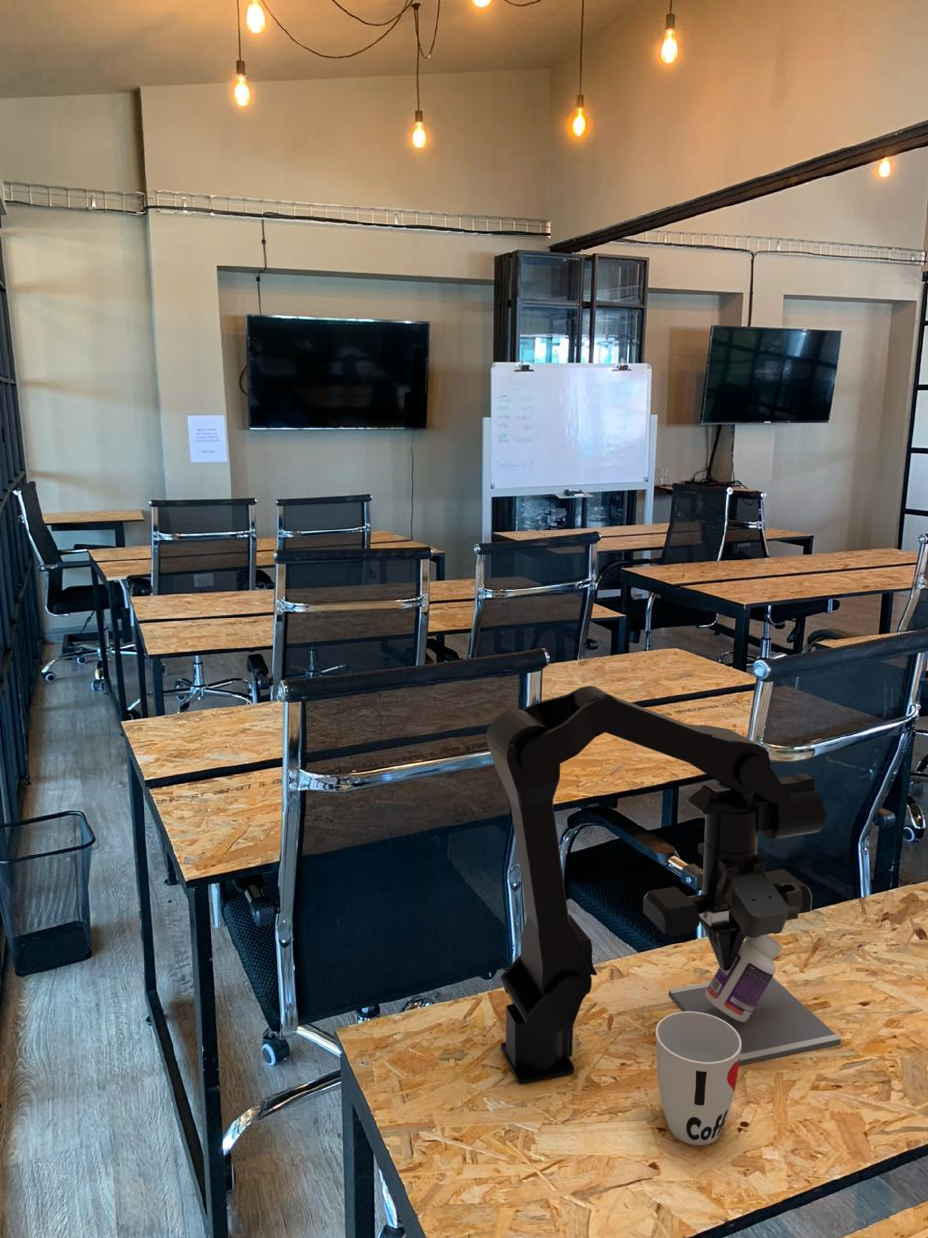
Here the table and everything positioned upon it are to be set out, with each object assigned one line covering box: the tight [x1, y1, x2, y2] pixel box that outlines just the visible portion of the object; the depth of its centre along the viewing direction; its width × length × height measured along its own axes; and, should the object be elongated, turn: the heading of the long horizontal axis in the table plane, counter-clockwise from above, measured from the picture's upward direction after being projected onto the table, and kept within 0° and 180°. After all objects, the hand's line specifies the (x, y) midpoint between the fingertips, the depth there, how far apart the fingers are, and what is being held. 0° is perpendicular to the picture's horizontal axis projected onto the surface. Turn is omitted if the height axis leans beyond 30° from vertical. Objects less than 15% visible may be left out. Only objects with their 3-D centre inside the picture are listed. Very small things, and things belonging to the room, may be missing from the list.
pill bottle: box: [705, 934, 783, 1022], centre depth 108 cm, size 5×5×10 cm
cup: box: [655, 1011, 742, 1146], centre depth 91 cm, size 8×8×10 cm
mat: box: [668, 976, 842, 1066], centre depth 109 cm, size 14×14×1 cm
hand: (724, 969), depth 107 cm, fingers closed
